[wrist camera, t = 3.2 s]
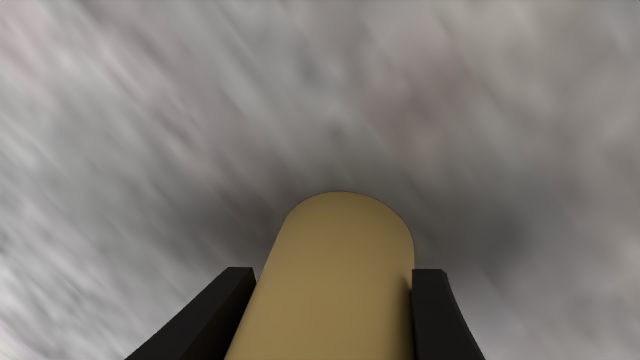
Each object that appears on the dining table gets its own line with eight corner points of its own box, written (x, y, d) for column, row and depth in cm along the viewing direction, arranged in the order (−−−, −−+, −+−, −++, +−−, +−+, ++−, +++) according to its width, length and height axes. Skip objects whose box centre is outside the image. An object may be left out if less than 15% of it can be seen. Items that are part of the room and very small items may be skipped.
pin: (411, 189, 11) (413, 527, 5) (416, 301, 12) (422, 658, 6) (268, 193, 11) (109, 487, 5) (291, 298, 13) (189, 613, 7)
